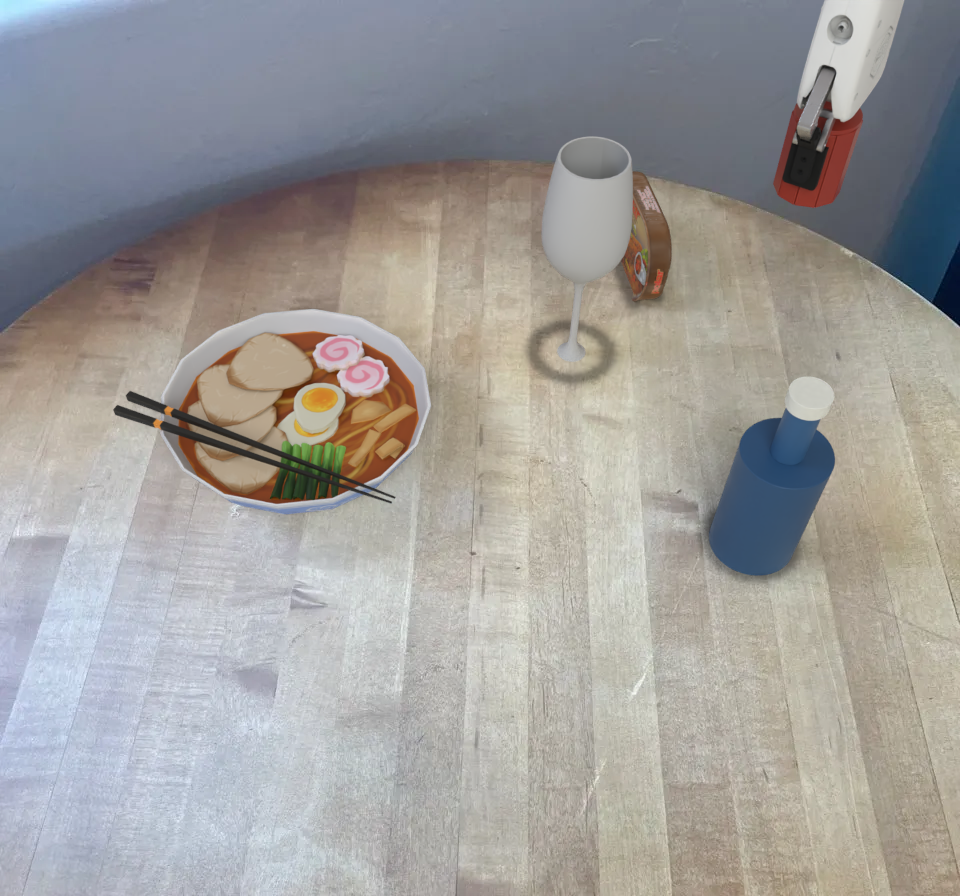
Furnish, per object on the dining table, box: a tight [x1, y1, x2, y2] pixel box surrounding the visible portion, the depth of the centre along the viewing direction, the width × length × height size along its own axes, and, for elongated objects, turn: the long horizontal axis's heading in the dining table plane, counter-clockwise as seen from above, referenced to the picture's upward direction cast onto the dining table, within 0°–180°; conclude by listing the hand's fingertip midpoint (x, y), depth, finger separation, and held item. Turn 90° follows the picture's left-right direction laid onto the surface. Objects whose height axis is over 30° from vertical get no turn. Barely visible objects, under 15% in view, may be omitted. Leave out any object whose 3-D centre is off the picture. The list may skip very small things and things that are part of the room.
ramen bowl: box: [112, 308, 432, 515], centre depth 86 cm, size 25×23×8 cm
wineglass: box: [540, 136, 633, 363], centre depth 88 cm, size 8×8×21 cm
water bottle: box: [708, 375, 836, 577], centre depth 78 cm, size 7×7×18 cm
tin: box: [620, 170, 673, 302], centre depth 101 cm, size 15×3×8 cm, turn 10°
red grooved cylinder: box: [772, 101, 864, 209], centre depth 92 cm, size 6×6×7 cm
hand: (813, 163), depth 93 cm, fingers closed on red grooved cylinder, 6 cm apart
